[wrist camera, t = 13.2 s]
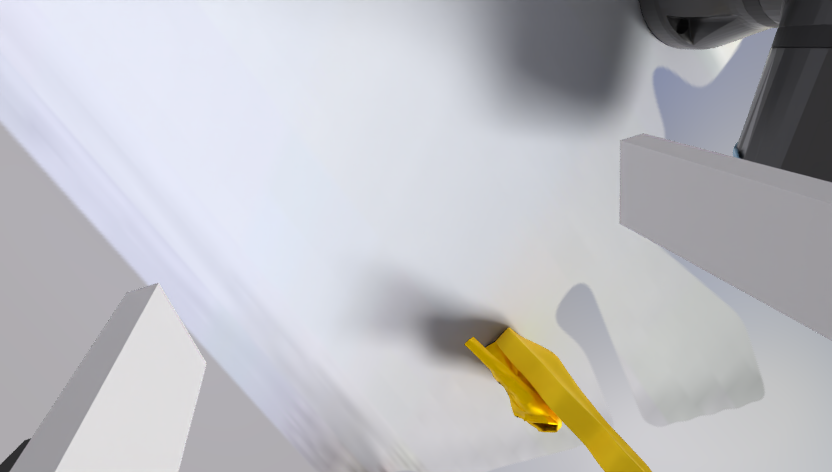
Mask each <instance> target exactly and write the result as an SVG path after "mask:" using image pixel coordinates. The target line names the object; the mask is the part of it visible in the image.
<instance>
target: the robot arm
mask: <svg viewBox="0 0 832 472" xmlns="http://www.w3.org/2000/svg"><path fill="white" fill-rule="evenodd" d="M639 1H640V6H641V10H642V13H643V16H644V18H645V21H646V23H647V25H648V27H649V28H650V30H651V31H652V32H653V34H654V35H655V36H656V37H657V38H658V39H659V40H661V41H662V42H663V43H665V44H667V45H669V46H671V47H674V48H679V49H710V48H715V47H719V46H722V45H725V44H728V43H731V42H733V41H736V40H739V39H742V38H745V37H747V36H750V35H753V34H756V33H759V32H761V31H764V30H767V29H770V28H778V29H777V32H776V35H775V38H774V41H773V44H772V47H771V49H770V52H769V55H768V58H767V61H766V64H765V67H764V69H763V72H762V75H761V78H760V82H759V84H758V87H757V90H756V93H755V96H754V99H753V102H752V105H751V108H750V111H749V114H748V117H747V119H746V122H745V125H744V128H743V131H742V133H741V136H740V139H739V142H737V143H736V145H735V147H734V149H733V156H734V157H732V156H728V155H724V154H720V153H717V152H713V151H709V150H705V149H701V148H697V147H693V146H690V145H686V144H682V143H678V142H674V141H671V140H666V139H663V138H659V137H655V136H651V135H647V134H644V133H643V134H640V135H636V136H633V137H630V138H627V139H624V140H620V224H622V225H623V226H625V227H627V228H629V229H631V230H632V231H634V232H636V233H638V234H640V235H642V236H643V237H645V238H647V239H649V240H651V241H652V242H654V243H656V244H658V245H660V246H661V247H663V248H665V249H667V250H669V251H671V252H672V253H674V254H676V255H678V256H680V257H682V258H683V259H685V260H687V261H689V262H690V263H692V264H694V265H696V266H698V267H700V268H702V269H703V270H705V271H707V272H709V273H710V274H712V275H714V276H716V277H718V278H719V279H721V280H723V281H725V282H727V283H729V284H730V285H732V286H734V287H736V288H737V289H739V290H741V291H743V292H745V293H747V294H749V295H750V296H752V297H754V298H756V299H757V300H759V301H761V302H763V303H765V304H766V305H768V306H770V307H772V308H774V309H775V310H777V311H779V312H781V313H783V314H785V315H786V316H788V317H790V318H792V319H793V320H796V321H797V322H799V323H801V324H803V325H804V326H806V327H808V328H810V329H812V330H813V331H815V332H817V333H819V334H821V335H822V336H824V337H826V338H828V339H830V340H832V0H639ZM206 364H207V363H206V362H205V360H204V358H203V356H202V355H201V353H200V352H199V350H198V348H197V346H196V345H195V343H194V341H193V340H192V338H191V336H190V335H189V333H188V331H187V330H186V328H185V326H184V325H183V323H182V321H181V320H180V318H179V316H178V315H177V313H176V311H175V310H174V308H173V306H172V304H171V303H170V301H169V299H168V298H167V296H166V294H165V293H164V291H163V289H162V288H161V286H160V284H159V283H157V284H153V285H150V286H147V287H144V288H140V289H138V290H134V291H131V292H127V293H126V295H125V296H124V298H123V299H122V301H121V302H120V304H119V305H118V307H117V308H116V310H115V311H114V313H113V314H112V316H111V318H110V319H109V320H108V322H107V324H106V325H105V327H104V328H103V330H102V331H101V333H100V334H99V336H98V337H97V339H96V340H95V342H94V343H93V345H92V346H91V348H90V350H89V351H88V353H87V354H86V356H85V357H84V359H83V360H82V362H81V363H80V365H79V366H78V368H77V370H76V371H75V372H74V374H73V375H72V377H71V379H70V380H69V382H68V383H67V385H66V386H65V388H64V389H63V391H62V392H61V394H60V395H59V397H58V398H57V400H56V401H55V403H54V405H53V406H52V408H51V409H50V411H49V412H48V414H47V415H46V417H45V418H44V420H43V421H42V423H41V425H40V426H39V428H38V429H37V431H36V432H35V434H34V435H33V437H32V438H30V439H28V440H25V441H24V442H23V443H22V444H21V445H20V446H19V447H18V448H17V449H16V450H15V451H14V452H13V453H12V454H11V455H10V456H9V457H8V458H7V459H6V460H5V461H4V462H3V463H2V464H1V465H0V472H178V471H179V467H180V463H181V459H182V456H183V452H184V448H185V444H186V440H187V436H188V433H189V429H190V425H191V421H192V417H193V414H194V410H195V406H196V402H197V398H198V395H199V391H200V387H201V383H202V379H203V375H204V372H205V368H206Z"/></svg>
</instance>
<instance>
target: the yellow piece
mask: <svg viewBox="0 0 832 472" xmlns="http://www.w3.org/2000/svg"><path fill="white" fill-rule="evenodd" d="M464 345H465V346H466V347H467V348H469V349H470V350H471V351H472V352H473V353H474V354H475V355H476V356H477V357H478V358H479V359H480V360H481V361H482V362H483V363H484V364H485V365H486V366H487V367H488V368H489V369H490V370H491V372H492V374H493V377H494V378H495V379H496V380H497V382H499V384H501V385H502V386H503V387H504V388H505V390H506V392H507V393H508V395H509V398H510V403H511V407H512V410H513V413H514V416H516V417H519V418H522V419H524V421H527V422H528V423H529V424H530V425H532V426H533V427H535V428H537V429H538V431H540V432H557V431H558V430H559V429H560V428H561V426H562V421H563V422H564V423H565V425H566V426H567V427H568V428H569V429H570V430H571V431H572V432H573V433H574V434H575V435H576V436H577V437H578V438H579V439H580V440H581V441H582V442H583V443H584V445H586V447H587V448H588V450H589V451H590V452H591V454H592V455H593V457H594V458H595V459H596V461H597V462H598V464H599V465H600V466H601V468H602V469H603V470H604V471H605V472H652V471H651V470H650V468H649V467H648V466H647V465H646V464H645V462H644V461H643V460H642V459H641V458H640V457H639V456H638V455H637V454H636V453H635V452H634V451H633V450H632V449H631V447H630V446H629V445H628V444H627V443H626V442H625V441H624V440H623V439H622V438H621V437H620V436H619V435H618V434H617V433H616V432H615V430H614V429H613V428H612V427H611V426H610V425H609V424H608V423H607V422H606V421H605V419H604V418H603V417H602V416H601V415H600V413H599V412H598V411H597V410H596V408H595V407H594V406H593V405H592V403H591V402H590V401H589V400H588V399H587V397H586V396H585V395H584V394H583V392H582V391H581V390H580V388H579V387H578V386H577V384H576V383H575V381H574V380H573V379H572V377H571V376H570V374H569V373H568V371H567V370H566V369H565V367H564V366H563V364H562V362H561V361H560V359H559V358H558V357H557V356H556V355H555V354H554V353H552V352H551V351H549V350H548V349H546V348H544V347H542V346H540V345H538V344H536V343H534V342H532V341H530V340H527V339H525V338H523V337H522V336H520V335H518V334H517V333H516V332H515V331H513V330H512V329H511V328H509V327H508V328H507V329H506V330H505V331H504V333H503V334H502V335H501V336H500V337H499V338H498V339H497V340H496V342H494V343H492V344H490V345H488V346H487V347H486V348H485V347H484V346H483V345H482V344H481V343H480V342H479V341H478V340H476V339H475V338H474V337H472V338H471V339H469V340H468V341H467V342H466V343H465V344H464Z"/></svg>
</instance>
